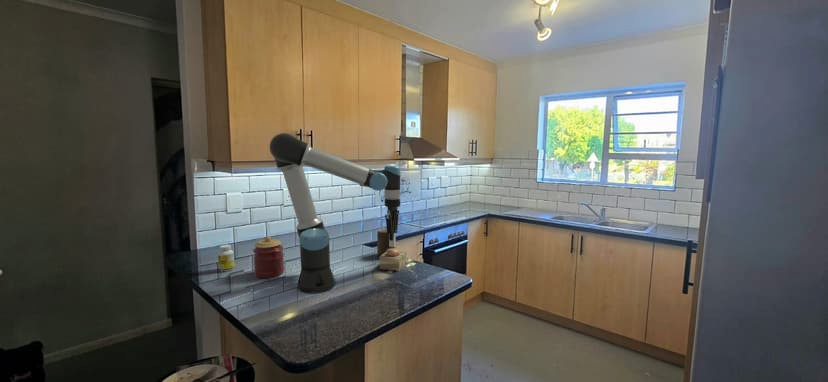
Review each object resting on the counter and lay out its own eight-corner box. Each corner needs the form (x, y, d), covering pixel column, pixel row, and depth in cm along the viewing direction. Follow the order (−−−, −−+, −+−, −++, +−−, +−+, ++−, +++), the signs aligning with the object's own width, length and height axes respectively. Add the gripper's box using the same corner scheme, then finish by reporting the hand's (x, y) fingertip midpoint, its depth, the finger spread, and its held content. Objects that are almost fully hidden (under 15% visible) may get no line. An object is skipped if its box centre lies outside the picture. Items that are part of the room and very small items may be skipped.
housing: (399, 271, 163) (399, 258, 163) (379, 268, 166) (379, 256, 166) (406, 264, 173) (406, 252, 172) (387, 262, 176) (387, 250, 175)
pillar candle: (391, 258, 181) (391, 230, 180) (374, 256, 184) (374, 229, 183) (398, 253, 190) (398, 226, 189) (381, 251, 194) (381, 225, 192)
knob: (396, 268, 165) (396, 252, 164) (384, 266, 167) (384, 251, 166) (401, 263, 171) (401, 248, 170) (389, 262, 173) (389, 247, 172)
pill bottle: (217, 269, 166) (215, 246, 164) (231, 266, 170) (229, 243, 169) (222, 273, 161) (220, 248, 160) (236, 269, 166) (235, 245, 164)
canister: (247, 276, 157) (245, 238, 155) (268, 267, 169) (266, 231, 167) (270, 280, 152) (268, 241, 150) (290, 270, 164) (288, 234, 162)
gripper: (394, 200, 158) (394, 251, 161) (404, 196, 170) (404, 243, 173) (379, 199, 160) (379, 249, 163) (390, 196, 172) (390, 242, 175)
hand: (392, 246), depth 168 cm, fingers closed
